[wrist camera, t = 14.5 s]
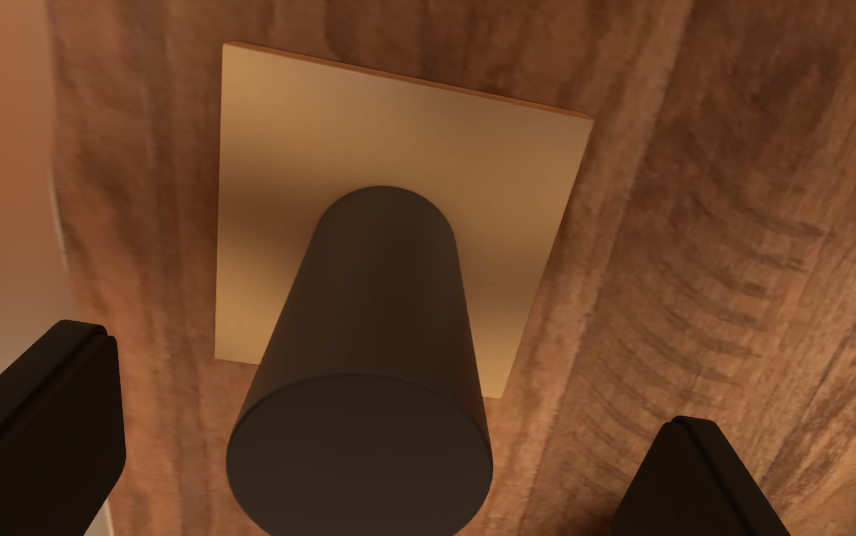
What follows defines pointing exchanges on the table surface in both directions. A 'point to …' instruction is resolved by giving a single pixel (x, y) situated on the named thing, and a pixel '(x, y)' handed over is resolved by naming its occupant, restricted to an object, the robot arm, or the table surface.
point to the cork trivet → (384, 166)
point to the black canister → (367, 384)
